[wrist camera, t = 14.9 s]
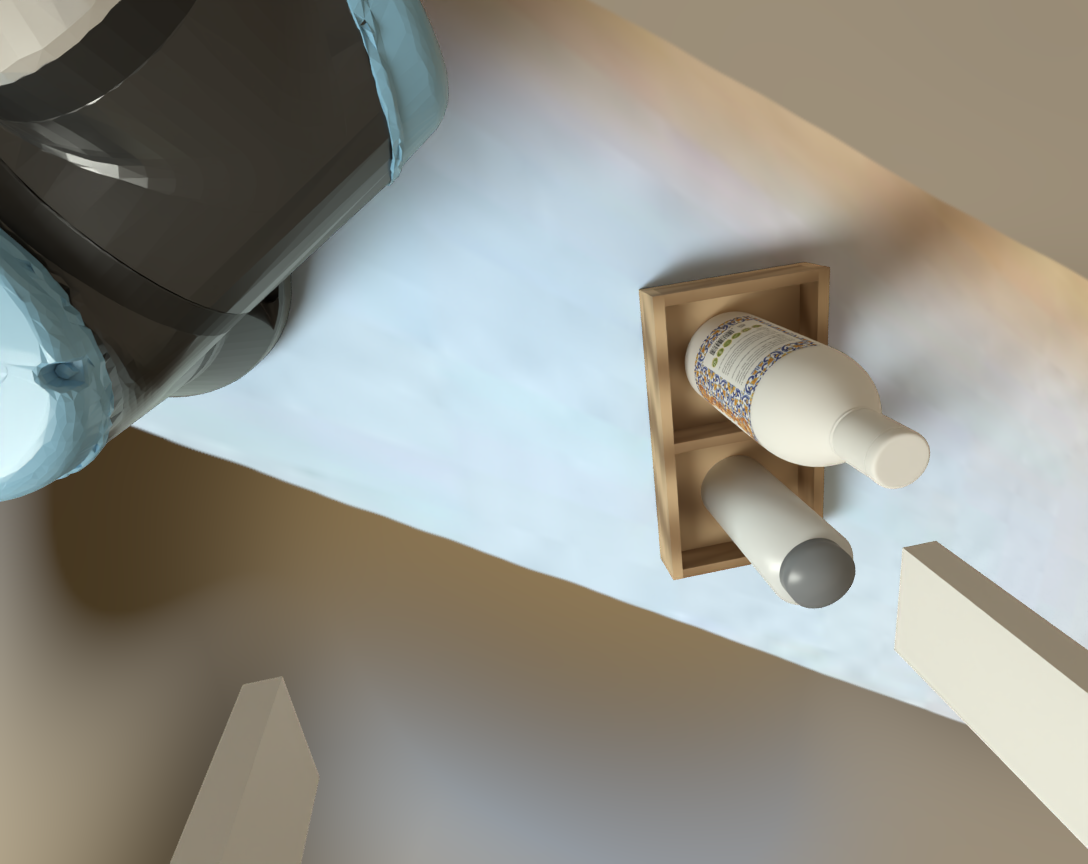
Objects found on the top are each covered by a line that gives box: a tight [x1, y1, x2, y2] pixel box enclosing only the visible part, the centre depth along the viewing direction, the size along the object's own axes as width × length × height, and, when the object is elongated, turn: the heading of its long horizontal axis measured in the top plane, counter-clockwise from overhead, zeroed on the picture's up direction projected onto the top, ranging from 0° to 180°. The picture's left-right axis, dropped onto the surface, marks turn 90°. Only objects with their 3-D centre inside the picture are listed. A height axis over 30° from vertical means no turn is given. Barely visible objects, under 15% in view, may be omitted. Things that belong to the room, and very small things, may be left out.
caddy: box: [639, 262, 830, 580], centre depth 49 cm, size 23×13×3 cm, turn 8°
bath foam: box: [685, 311, 930, 489], centre depth 39 cm, size 7×7×20 cm
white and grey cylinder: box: [701, 455, 855, 608], centre depth 46 cm, size 6×6×13 cm
